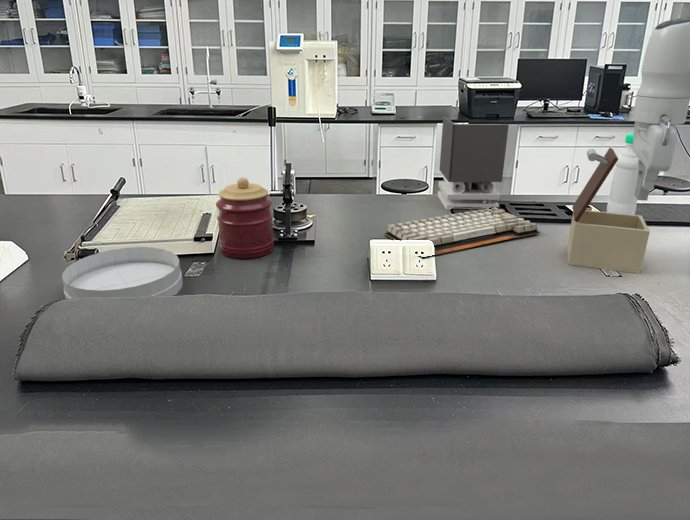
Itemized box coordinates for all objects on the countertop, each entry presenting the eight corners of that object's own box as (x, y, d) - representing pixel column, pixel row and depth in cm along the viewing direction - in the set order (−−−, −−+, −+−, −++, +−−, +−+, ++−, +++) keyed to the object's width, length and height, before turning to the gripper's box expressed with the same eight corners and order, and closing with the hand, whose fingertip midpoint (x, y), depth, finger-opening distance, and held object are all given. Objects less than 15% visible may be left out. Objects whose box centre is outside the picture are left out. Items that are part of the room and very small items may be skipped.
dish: (166, 260, 122) (163, 240, 120) (197, 296, 104) (194, 273, 103) (59, 282, 111) (54, 260, 109) (74, 326, 93) (68, 301, 92)
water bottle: (636, 228, 144) (658, 134, 134) (622, 233, 140) (643, 137, 131) (612, 221, 149) (631, 131, 140) (597, 225, 146) (616, 133, 136)
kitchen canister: (247, 236, 137) (242, 168, 130) (285, 247, 130) (282, 176, 123) (208, 251, 127) (201, 179, 120) (247, 264, 120) (242, 187, 113)
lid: (612, 149, 119) (591, 139, 120) (618, 159, 109) (595, 148, 110) (575, 207, 127) (555, 198, 127) (577, 222, 116) (556, 212, 117)
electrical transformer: (446, 209, 159) (453, 124, 149) (435, 192, 177) (441, 115, 167) (498, 209, 159) (508, 124, 149) (483, 192, 177) (491, 115, 167)
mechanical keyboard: (423, 258, 123) (423, 245, 122) (381, 234, 139) (381, 222, 137) (542, 235, 139) (543, 222, 138) (492, 215, 155) (493, 204, 153)
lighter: (634, 194, 109) (642, 155, 106) (643, 195, 108) (652, 156, 105) (640, 203, 103) (649, 162, 100) (650, 204, 102) (659, 163, 99)
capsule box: (632, 254, 126) (641, 215, 122) (639, 273, 116) (649, 231, 112) (566, 247, 131) (573, 209, 127) (568, 264, 120) (575, 223, 117)
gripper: (692, 120, 90) (673, 199, 95) (667, 106, 107) (653, 174, 113) (650, 118, 92) (634, 196, 97) (633, 105, 109) (620, 172, 115)
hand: (644, 184), depth 105 cm, fingers closed on lighter, 6 cm apart
